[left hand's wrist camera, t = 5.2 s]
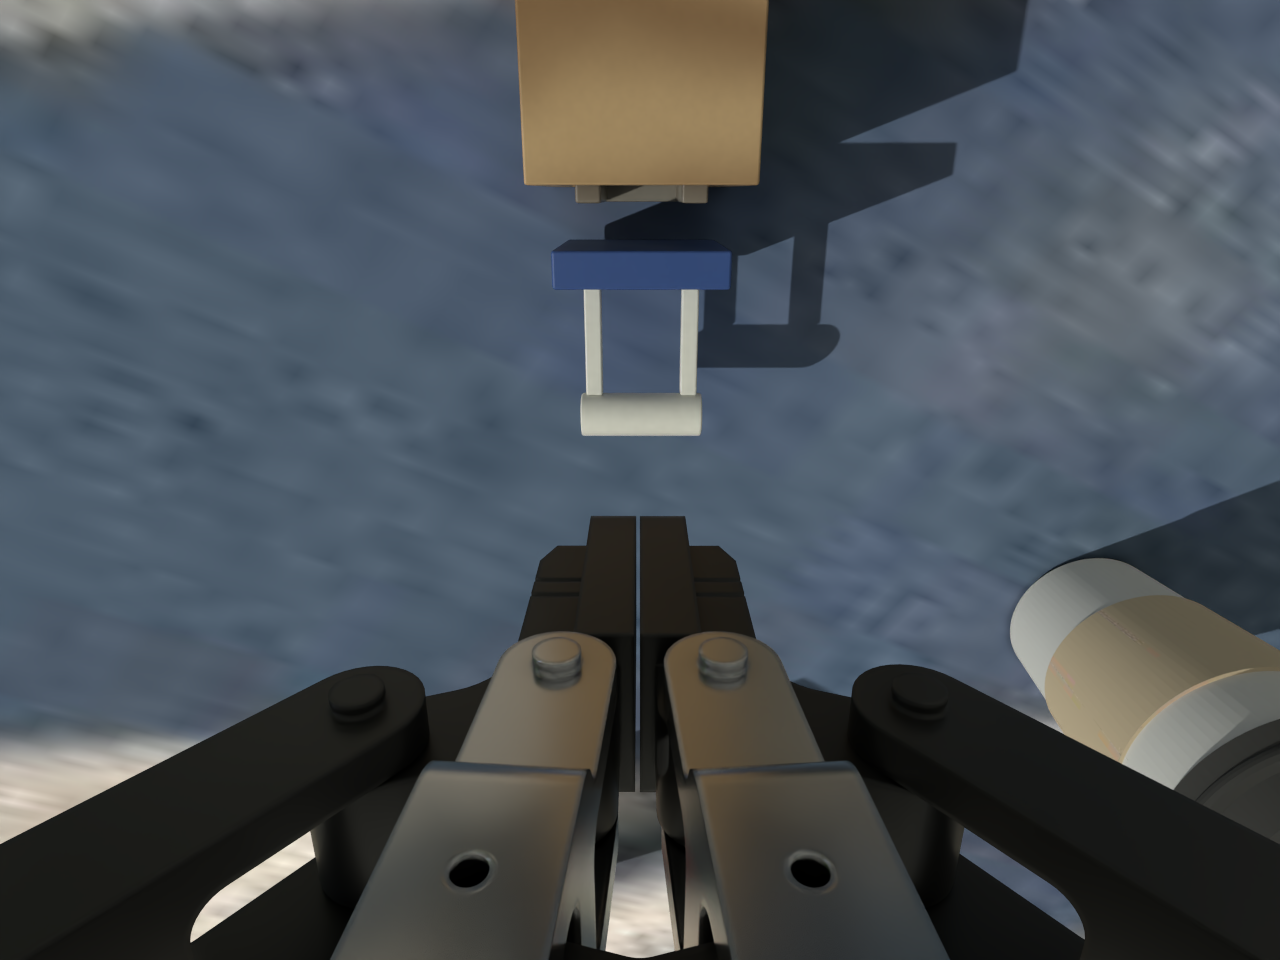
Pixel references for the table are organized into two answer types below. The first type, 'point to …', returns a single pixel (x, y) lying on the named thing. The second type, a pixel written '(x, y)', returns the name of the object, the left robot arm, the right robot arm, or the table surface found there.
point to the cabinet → (641, 91)
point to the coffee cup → (1157, 685)
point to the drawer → (641, 270)
